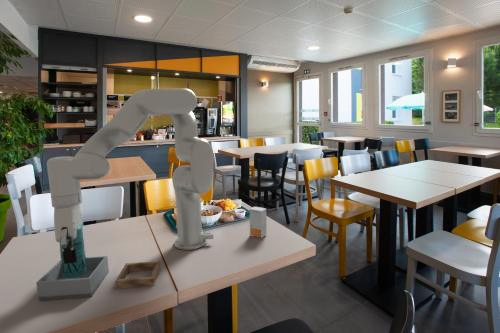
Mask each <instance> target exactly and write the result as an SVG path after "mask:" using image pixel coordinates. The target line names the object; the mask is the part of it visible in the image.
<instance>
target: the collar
mask: <svg viewBox="0 0 500 333" xmlns="http://www.w3.org/2000/svg"><path fill="white" fill-rule="evenodd" d="M160 270H161V261H160V260H157V261H144V262H143V261H142V262H127V263H125V264H124V266H123V268H122V269H121V271H120V273H119V274H118V276H117V278H116V279H115V281H114V282H115V284H114V285H115V289H116V290H118V289H128V288H129V289H130V288H142V287H154V286H155V284H156V281H157V279H158V276H159V273H160ZM138 271H141V272H142V271H152V273H151V275H150V276H146V277H145V276H144V277H131V278H126V277H127V276H128V275H129V273H130V272H138Z"/></svg>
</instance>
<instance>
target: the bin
mask: <svg viewBox="0 0 500 333" xmlns="http://www.w3.org/2000/svg"><path fill="white" fill-rule="evenodd" d="M85 259H86V263H87V264H86V265H87V266H86V272H85V273H84V274H83V275H81V276H78V277H74V278H65V277H64V276H63V275H62V274H63V273H62V272H63V271H62V268H61V267H62V264H61V263H62V262H61V259H60V260H59V261H58V262H57V263H56V264H55V265H53V266H52V268H50V269H49V270H48V271H47V272H46V273H45V274H43V275H42V276H41V277H40V278H39V280H38V281H36V290H37V297H38V301H39V302H44V301H46V302H47V301H57V300H69V299H82V298H84V299H85V298H92V297H93V296H94V295H95V293H96V292H97V290H98V288H100V286H101V284H102V283H103V282H104V280H105V279H106V277H107V275H108V274H109V272H110V269H109V260H108V259H109V258H108V255H101V256H88V257H87V256H86V258H85Z"/></svg>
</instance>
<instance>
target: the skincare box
mask: <svg viewBox="0 0 500 333" xmlns="http://www.w3.org/2000/svg"><path fill="white" fill-rule="evenodd" d="M250 235H252V236H251V237H254V236H257V237H256V238H258V237H261V238H260V239H263V238H265V237H266V236H267V207H266V208H265V207H262V206H261V207H260V206H252V207H251V208H249V236H250ZM265 235H266V236H265ZM264 236H265V237H264ZM262 237H263V238H262Z"/></svg>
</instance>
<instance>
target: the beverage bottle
mask: <svg viewBox="0 0 500 333" xmlns="http://www.w3.org/2000/svg"><path fill="white" fill-rule="evenodd" d="M71 238H72V237H68V239H71ZM58 243H59V252H60V260H61V262H62V263H61V264H62V267H61V268H62V271H63V272H62V273H63V274H62V275H63V276H64V277H65V278H74V277H78V276H81V275H83V274H84V273H85V272H86V266H87V265H86V264H87V263H86V259H85V258H86V257H87V256H86V251H85V250H86V249H85V239H84V232H83V225H82V226H81V225H79V226H78V229H77V237H76V238H75V239H74V249H76V256H77V262H75V263H68V264H64V259H63V251H62V246H61V240H60V241H59V242H58ZM68 243H69V244H70V245H71V241H69V242H68Z"/></svg>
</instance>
